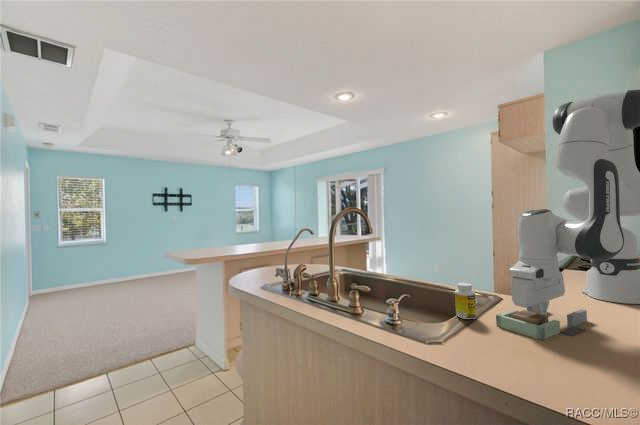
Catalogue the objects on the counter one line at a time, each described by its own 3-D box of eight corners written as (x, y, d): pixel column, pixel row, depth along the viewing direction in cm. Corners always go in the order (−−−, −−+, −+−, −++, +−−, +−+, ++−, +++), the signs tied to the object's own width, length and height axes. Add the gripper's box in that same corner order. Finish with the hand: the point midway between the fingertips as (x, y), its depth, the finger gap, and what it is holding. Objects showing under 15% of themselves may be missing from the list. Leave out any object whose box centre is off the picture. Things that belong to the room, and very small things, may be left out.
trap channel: (531, 308, 96) (531, 298, 96) (599, 324, 81) (599, 313, 81) (487, 322, 86) (486, 312, 86) (555, 344, 70) (554, 331, 70)
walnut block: (524, 324, 84) (523, 310, 84) (548, 331, 79) (548, 315, 79) (512, 328, 81) (511, 314, 81) (536, 336, 76) (535, 320, 76)
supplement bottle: (469, 322, 87) (468, 287, 87) (452, 317, 91) (450, 284, 91) (480, 318, 90) (478, 284, 90) (462, 313, 94) (461, 281, 94)
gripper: (545, 261, 91) (548, 306, 91) (505, 270, 81) (507, 321, 81) (570, 264, 85) (573, 312, 85) (530, 274, 76) (533, 328, 76)
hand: (540, 316), depth 83 cm, fingers closed
